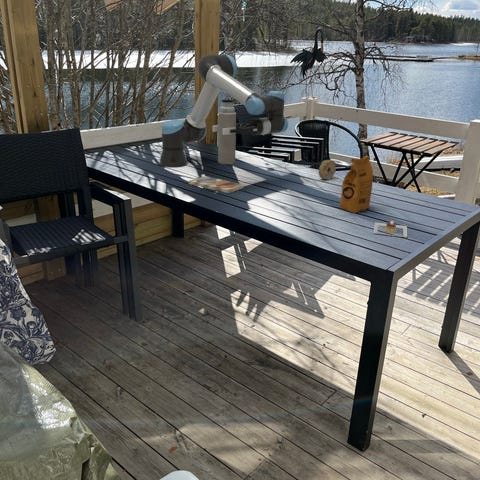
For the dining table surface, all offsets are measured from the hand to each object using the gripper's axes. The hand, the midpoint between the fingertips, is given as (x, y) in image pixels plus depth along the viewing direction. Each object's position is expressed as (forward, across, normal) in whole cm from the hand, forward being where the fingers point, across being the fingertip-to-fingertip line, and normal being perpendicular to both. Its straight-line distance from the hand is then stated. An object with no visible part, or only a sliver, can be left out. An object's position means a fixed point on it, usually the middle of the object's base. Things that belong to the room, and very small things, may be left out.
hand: (218, 130), depth 220 cm
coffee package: (-36, -52, -28) cm, 69 cm away
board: (-3, +6, -27) cm, 28 cm away
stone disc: (-59, -11, -28) cm, 66 cm away
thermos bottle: (-5, 0, -15) cm, 16 cm away
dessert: (-28, -79, -28) cm, 88 cm away
